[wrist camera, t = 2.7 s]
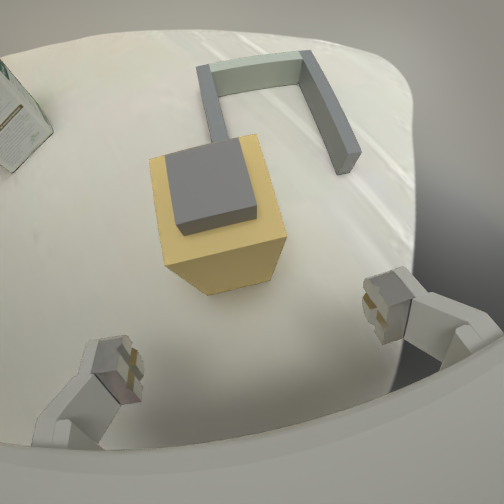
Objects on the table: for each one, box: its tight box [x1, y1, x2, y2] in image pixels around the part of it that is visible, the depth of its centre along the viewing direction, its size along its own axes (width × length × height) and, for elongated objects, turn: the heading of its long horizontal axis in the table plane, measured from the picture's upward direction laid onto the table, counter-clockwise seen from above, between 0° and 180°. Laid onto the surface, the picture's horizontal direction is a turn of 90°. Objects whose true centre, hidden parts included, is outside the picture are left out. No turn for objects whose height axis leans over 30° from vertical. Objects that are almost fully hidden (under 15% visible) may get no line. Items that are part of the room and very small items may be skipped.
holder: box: [196, 50, 362, 175], centre depth 21 cm, size 9×10×3 cm
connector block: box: [149, 134, 287, 296], centre depth 15 cm, size 4×4×11 cm
